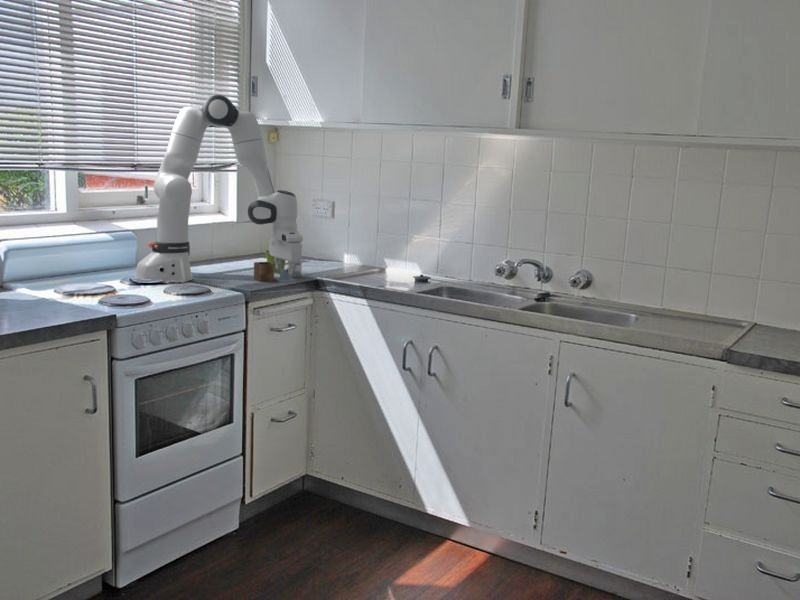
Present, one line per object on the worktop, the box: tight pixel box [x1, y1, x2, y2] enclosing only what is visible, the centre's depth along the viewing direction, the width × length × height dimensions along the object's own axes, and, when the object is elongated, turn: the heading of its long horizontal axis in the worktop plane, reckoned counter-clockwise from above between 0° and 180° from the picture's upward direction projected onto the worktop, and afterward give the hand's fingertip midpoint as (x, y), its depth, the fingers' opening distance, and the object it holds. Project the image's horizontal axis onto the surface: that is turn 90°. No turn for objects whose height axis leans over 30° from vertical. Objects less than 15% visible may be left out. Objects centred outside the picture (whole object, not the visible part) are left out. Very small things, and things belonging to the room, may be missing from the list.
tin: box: [289, 260, 303, 279], centre depth 328 cm, size 5×5×6 cm
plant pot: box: [263, 249, 287, 274], centre depth 337 cm, size 9×9×9 cm
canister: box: [253, 261, 275, 283], centre depth 317 cm, size 6×6×7 cm
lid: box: [274, 268, 297, 283], centre depth 319 cm, size 7×7×5 cm
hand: (284, 271), depth 319 cm, fingers open, 8 cm apart
